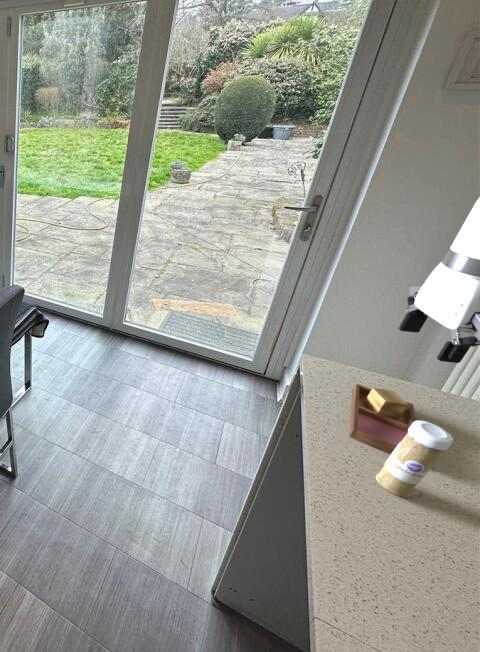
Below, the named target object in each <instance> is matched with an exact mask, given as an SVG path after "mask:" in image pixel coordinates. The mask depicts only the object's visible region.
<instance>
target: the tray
mask: <svg viewBox="0 0 480 652" xmlns="http://www.w3.org/2000/svg"><path fill="white" fill-rule="evenodd" d="M352 390H353V391H351V393H352V394H351V406H350V419H349V430H348V431H349V433H348V437H349V438H350V439H354V440H356V441H359V442H361V443H362V444H365V445H367V446H370V447H372V448H374V449H377V450H379V451H382V452H384V453H387V454H389V455H391V454H392V453H393V451H394V450H395V448H396V447H397V446H398V444H399V443H400V442H401V441H402V440H403V439H404V437H405V436H406V434H407V433H408V429H409V427H410V426H411V425H412V424H413V422H415V421H416V418H415V417H416V415H415V408H414V404H413V403H411V402H408V401H405V402H406V403H407V404H408V406H407V407H406V408H405V410H404V411H403V413H402V414H401V416H400V417H399V419H397V418H390V417H387V416H384V415H382V414H379V413H376V412H374V411H372V410H371V409H370V408H369V407H368V406H367V405H366V403H365V402H364V401H365V400H366V398H367V396H368V395H369V393H370V391H371V390H372V388H370V387H367V386H364V385H361V384H359V383H356V384H355V385H354V387H353V388H352Z"/></svg>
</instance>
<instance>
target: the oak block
mask: <svg viewBox="0 0 480 652" xmlns="http://www.w3.org/2000/svg"><path fill="white" fill-rule="evenodd" d="M371 389H372V390H371V391H370V393H369V395H368V396H367V398H366V400H365V401H364V402H365V403H366V405H367V406H368V407H369V408H370V409H371V410H372V411H374V412H376V413H379V414H382V415H384V416H387V417H390V418H397V419H399V417H400V416H401V414H402V413H403V411H404V410H405V408H406V407H407V406H408V404H407V403H406V402H407V401H406V400H404V399H403V397H401V396H400V395H399V394H398V393H397V392H396V391H395V390H390V389H383V388H376V387H372V388H371Z"/></svg>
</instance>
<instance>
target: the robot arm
mask: <svg viewBox="0 0 480 652" xmlns="http://www.w3.org/2000/svg"><path fill="white" fill-rule="evenodd" d="M406 300H407V306H406V308H405V312H407V313H406V314H405V316H404V317H403V320H402V321H401V323H400V325H399V326H398V330H399V331H400V332H406V333H420V331H421V330H422V328H423V326H424V325H425V323H426V322H427V319H428V318H429V317H430V318H431V319H433V320H434V321H436V322H438V323H439V324H440V325H442V326H443V327H445V328H446V329H449V330H450V331H449V332H450V338H451V339H450V340H451V341H449V340H448V341H446V342H445V344H444V345H443V347H442V348H441V349H440V352H439V353H438V355H437V356H436V359H437V360H438V361H439V362H445V363H453V364H459V363H461V362H462V360H463V359H464V357H465V356H466V354H467V353H468V351H469V350H470V349H471V347H472V348H475V347H477V346H480V197H478V199H477V200H476V201H475V203H474V205H473V207H472V209H471V211H470V212H469V213H468V215H467V217H466V219H465V221H464V222H463V224H462V226H461V228H460V230H459V232H458V233H457V235H456V237H455V238H454V240H453V242H452V244H451V245H450V247H449V249H448V251H447V253H446V254H445V256H444V258H443V259H442V261H441V262H440V263H439V264H438V265H437V266H435V268H434V269H433V270H432V271H431V273H430V274H429V276H428V277H427V278H426V280H425V281H424V283H423V284H422V285H411V286H409V288H408V296H407V299H406ZM463 332H464V333H465V336H464V337H462V333H463Z"/></svg>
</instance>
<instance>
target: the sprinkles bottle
mask: <svg viewBox="0 0 480 652" xmlns="http://www.w3.org/2000/svg"><path fill="white" fill-rule="evenodd" d="M453 442H454V438H453V436H452V435H451V434H450V433H449V432H448V431H447V430H445V429H444V428H442V427H440V426H439V425H436V424H434V423H432V422H429V421H427V420H415V422H413V424H412V425H411V426H410V427H409V429H408V433H407V434H406V436H405V437H404V439H403V440H402V441H401V442H400V443H399V444H398V446H397V447H396V448H395V450H394V451H393V453H392V454H389V457H388V458H387V459H386V460H385V462H384V465H383V467H382V468H381V469H380V470H379V472H377V474H375V480H376V481H377V483H378V484H379V485H380V486H381V487H382V488H383V489H385V490H386V491H387V492H388V493H389V492H390V493H391V494H392V495H395V496H398V497H403V498H406V497H409V496H411V495H412V493H413V491H414V489H415V488H416V487H417V486H418V484H420V483H421V481H423V479H424V478H425V476H426V475H427V474H428V473H429V471H430V470H431V469H432V468H433V466H434V465H435V463H437V460H438V459H439V457H440V456H441V454H443V452H445V451H447V450H448V449H449V448H450V446H451V445H452V444H453Z"/></svg>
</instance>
